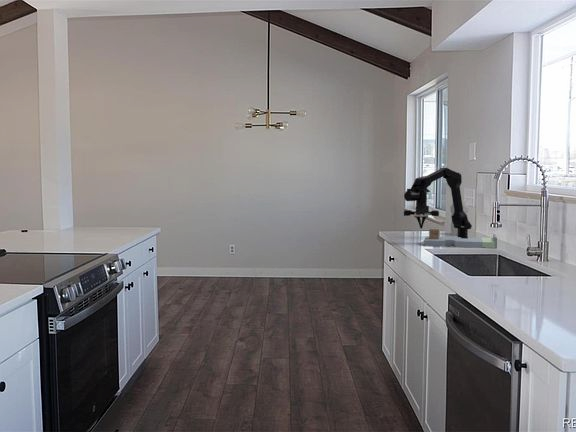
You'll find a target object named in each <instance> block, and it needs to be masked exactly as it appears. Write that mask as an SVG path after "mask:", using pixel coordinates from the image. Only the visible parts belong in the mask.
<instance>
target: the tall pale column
mask: <svg viewBox="0 0 576 432" xmlns="http://www.w3.org/2000/svg"><path fill="white" fill-rule="evenodd" d="M462 206H463V211H464V212H465V214H466V215H467V216H468V212H469V207H470V206H469V205H468V203H467V200H464V199H463V200H462ZM450 213H451V216H452V215H453V214H454V206H453V203H452V204H451V205H450ZM461 227H463V226H461ZM457 234H458V228H454V224H453V222H452V221H451V224H450V236H452V237H457Z"/></svg>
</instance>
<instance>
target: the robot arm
mask: <svg viewBox="0 0 576 432" xmlns="http://www.w3.org/2000/svg"><path fill="white" fill-rule="evenodd" d="M441 178H443V179H445V180H446V184H447V185H448V187H449V188H450V191H451V197H452V198H451V199H452V204H453V206H454V214H453V215H452V214H451V223H452V222H453V224H454V228H458V234H457V236H456V237H461V238H465V239H469V237H468V235H469V230H471V229H472V224H471V222H470V221H469V219H468V214H467V215H466V214H465V212H464V211H463V206H462V194H461V185H462V183H463V180H462V173H460V172H457V171H454V170H453V169H450V168H448V167H440V168H439V169H436V171H434V172H431V173H430V174H428V175H425V176H424V175H423V176H419V177H416V178H415V179H414V182H413V183H412V186H411V187H410V188H406V191H405V193H404V194H403V196H404V197H403V198H404V200H405V201H406V202H415V211H414V210H412V209H406V210H404V211H403V216H406V217H408V216H411V215H413V218H416V220H417V222H418V226H419V228H420V229H421V230H422V229H423V227H424V224H425V220H426V219H427V218H429V216H430V215H431V216H432V217H439V216H440V211H439V210H438V209H437V210H435V209H433V210H431V211H429V210H430V206H429V205H428V204H427V203H428V200H427V199H428V196H427V195H428V193H429V192H431V191H430V190H429V189H428V188H429V187H430V186H431V185H432V184H433V183H434V182H435V181H437V180H439V179H441ZM421 215H422V216H421ZM461 226H463V227H461Z"/></svg>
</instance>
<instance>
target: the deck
mask: <svg viewBox="0 0 576 432" xmlns="http://www.w3.org/2000/svg"><path fill="white" fill-rule="evenodd" d="M441 246H453V247H452V248H473V247H485V248H484V249H497V248H498V237H497V235H496V233H493V235H492V237H469V238H468V239H465V238H461V237H457V236H439V239H429V235H428V236H425V237H424V239H423V247H441Z"/></svg>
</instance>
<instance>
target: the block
mask: <svg viewBox="0 0 576 432" xmlns="http://www.w3.org/2000/svg"><path fill="white" fill-rule="evenodd" d="M428 234H429V235H428V236H429V239H439V237H440V229H439V228H438V229H437V228H429V230H428Z"/></svg>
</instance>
